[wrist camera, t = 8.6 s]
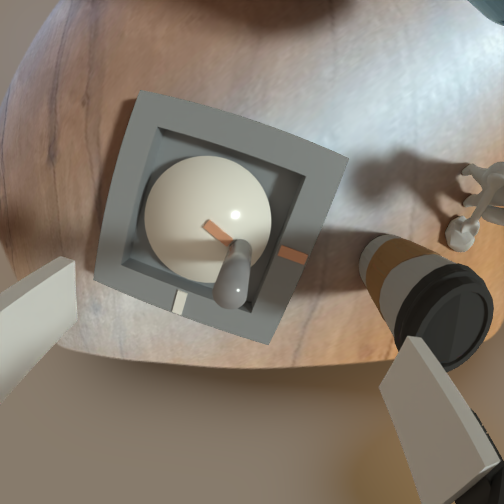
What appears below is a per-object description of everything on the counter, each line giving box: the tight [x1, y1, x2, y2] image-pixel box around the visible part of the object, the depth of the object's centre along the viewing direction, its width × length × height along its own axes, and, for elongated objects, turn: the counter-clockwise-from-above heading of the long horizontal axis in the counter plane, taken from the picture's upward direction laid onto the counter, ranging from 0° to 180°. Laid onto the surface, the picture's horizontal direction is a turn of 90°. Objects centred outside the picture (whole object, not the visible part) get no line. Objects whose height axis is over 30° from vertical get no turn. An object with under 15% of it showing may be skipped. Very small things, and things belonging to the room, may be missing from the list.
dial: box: [144, 156, 271, 309], centre depth 23 cm, size 12×12×11 cm
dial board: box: [93, 90, 349, 345], centre depth 28 cm, size 20×20×3 cm
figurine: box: [445, 162, 504, 252], centre depth 21 cm, size 10×9×15 cm
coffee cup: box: [359, 235, 494, 372], centre depth 23 cm, size 8×8×15 cm
